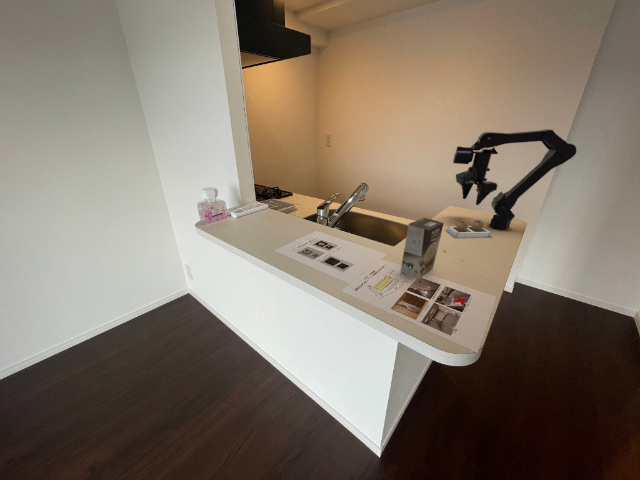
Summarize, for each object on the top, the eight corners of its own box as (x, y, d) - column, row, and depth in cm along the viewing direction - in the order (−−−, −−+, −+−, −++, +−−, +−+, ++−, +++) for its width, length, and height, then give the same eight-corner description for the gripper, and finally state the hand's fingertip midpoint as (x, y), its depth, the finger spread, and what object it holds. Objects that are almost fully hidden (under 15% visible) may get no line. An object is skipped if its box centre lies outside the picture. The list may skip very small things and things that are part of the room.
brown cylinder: (462, 231, 107) (465, 218, 104) (467, 235, 103) (471, 221, 100) (452, 232, 107) (456, 218, 104) (457, 236, 103) (461, 222, 100)
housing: (479, 231, 110) (481, 225, 109) (492, 239, 102) (494, 233, 101) (443, 232, 109) (444, 225, 107) (454, 240, 101) (455, 233, 100)
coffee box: (418, 280, 76) (428, 230, 69) (399, 271, 80) (407, 223, 73) (433, 269, 81) (444, 222, 75) (415, 262, 86) (423, 216, 79)
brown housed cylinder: (476, 231, 107) (480, 218, 105) (483, 235, 104) (487, 221, 101) (467, 231, 107) (471, 218, 104) (473, 235, 103) (477, 221, 101)
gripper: (449, 161, 113) (441, 196, 120) (476, 169, 96) (465, 208, 103) (473, 161, 114) (464, 195, 121) (503, 168, 97) (491, 208, 104)
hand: (470, 201), depth 112 cm, fingers open, 9 cm apart
